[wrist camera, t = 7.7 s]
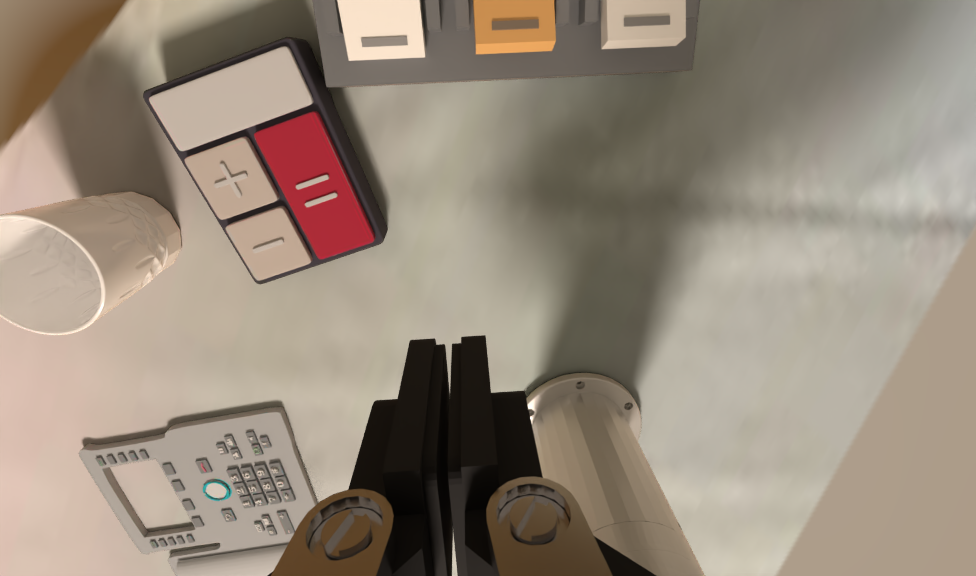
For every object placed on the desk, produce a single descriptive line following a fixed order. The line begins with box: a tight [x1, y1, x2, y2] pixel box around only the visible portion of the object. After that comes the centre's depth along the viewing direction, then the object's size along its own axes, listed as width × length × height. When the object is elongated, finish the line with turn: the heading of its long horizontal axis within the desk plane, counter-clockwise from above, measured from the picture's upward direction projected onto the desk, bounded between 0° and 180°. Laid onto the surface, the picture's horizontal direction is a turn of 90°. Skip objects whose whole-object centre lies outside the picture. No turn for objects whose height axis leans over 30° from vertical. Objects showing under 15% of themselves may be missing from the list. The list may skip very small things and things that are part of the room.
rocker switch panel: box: [312, 0, 700, 88], centre depth 31 cm, size 25×9×5 cm, turn 92°
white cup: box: [0, 191, 181, 335], centre depth 33 cm, size 8×8×10 cm
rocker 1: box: [337, 0, 426, 61], centre depth 28 cm, size 5×6×2 cm
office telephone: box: [79, 407, 318, 576], centre depth 49 cm, size 23×3×20 cm
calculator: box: [143, 37, 388, 284], centre depth 35 cm, size 11×4×15 cm
